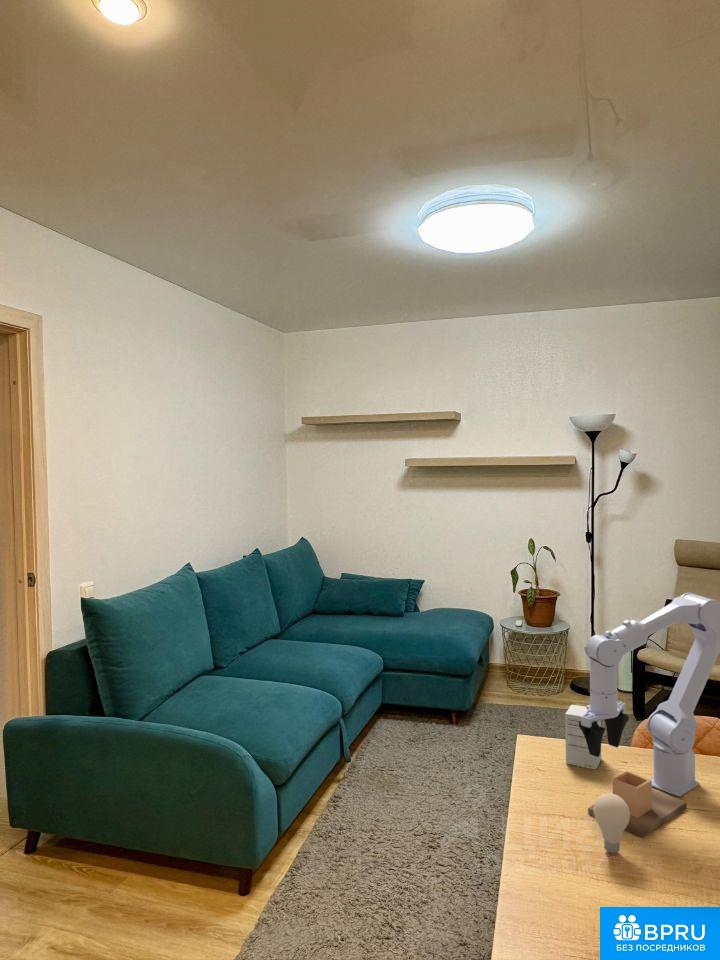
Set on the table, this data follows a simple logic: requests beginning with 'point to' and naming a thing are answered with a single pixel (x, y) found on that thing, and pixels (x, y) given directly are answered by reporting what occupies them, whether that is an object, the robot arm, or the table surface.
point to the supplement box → (578, 739)
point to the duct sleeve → (634, 792)
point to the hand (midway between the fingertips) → (604, 750)
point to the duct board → (653, 814)
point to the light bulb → (611, 819)
